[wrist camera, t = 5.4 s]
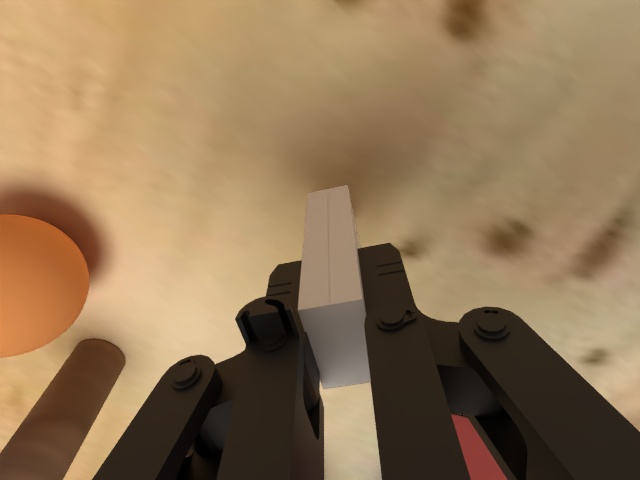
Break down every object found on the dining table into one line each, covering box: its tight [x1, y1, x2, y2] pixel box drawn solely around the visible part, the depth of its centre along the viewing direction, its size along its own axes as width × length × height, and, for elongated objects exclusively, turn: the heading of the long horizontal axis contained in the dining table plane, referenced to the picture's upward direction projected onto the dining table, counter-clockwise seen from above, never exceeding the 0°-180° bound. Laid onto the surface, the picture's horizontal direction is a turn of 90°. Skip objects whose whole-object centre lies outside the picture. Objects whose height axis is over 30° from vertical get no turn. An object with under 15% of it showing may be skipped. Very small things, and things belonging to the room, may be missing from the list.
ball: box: [0, 214, 89, 357], centre depth 16 cm, size 6×6×6 cm
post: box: [0, 339, 125, 480], centre depth 18 cm, size 3×3×9 cm
